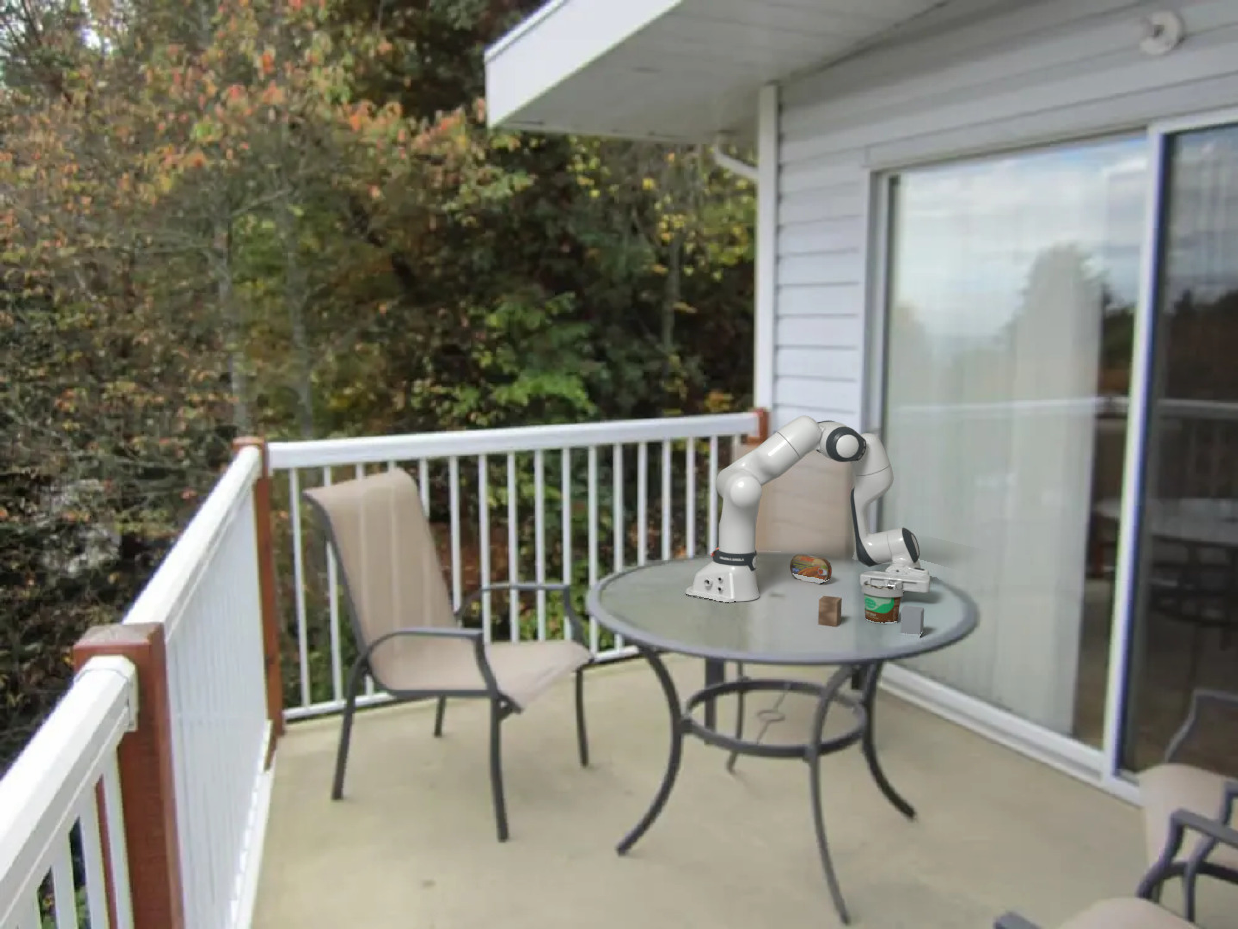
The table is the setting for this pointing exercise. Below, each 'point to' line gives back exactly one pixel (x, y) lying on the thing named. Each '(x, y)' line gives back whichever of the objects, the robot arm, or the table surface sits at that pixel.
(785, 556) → the table surface
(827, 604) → the walnut block
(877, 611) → the food container
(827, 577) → the tin
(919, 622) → the slate block
